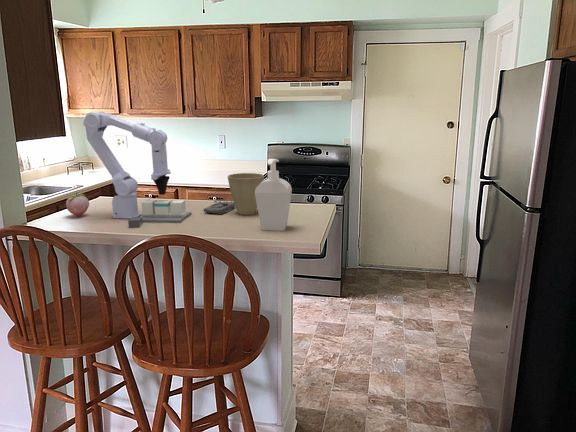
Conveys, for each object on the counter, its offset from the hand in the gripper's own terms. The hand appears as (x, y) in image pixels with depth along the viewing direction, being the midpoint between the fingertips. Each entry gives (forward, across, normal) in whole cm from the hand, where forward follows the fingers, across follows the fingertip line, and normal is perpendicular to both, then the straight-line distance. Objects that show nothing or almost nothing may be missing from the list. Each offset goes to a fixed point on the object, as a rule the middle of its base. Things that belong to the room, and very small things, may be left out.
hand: (162, 194), depth 196 cm
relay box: (+10, -15, +5) cm, 19 cm away
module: (+7, -3, -1) cm, 8 cm away
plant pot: (+9, +9, -33) cm, 36 cm away
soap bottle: (+9, -15, -49) cm, 52 cm away
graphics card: (+10, +13, -20) cm, 26 cm away
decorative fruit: (+10, -3, +37) cm, 38 cm away
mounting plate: (+9, -3, -1) cm, 10 cm away
